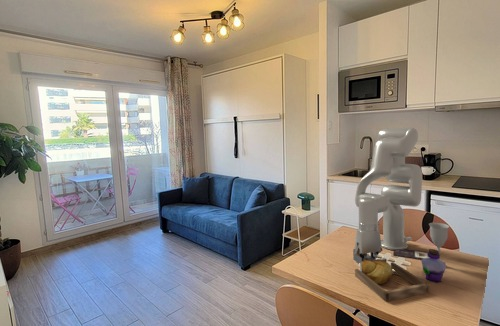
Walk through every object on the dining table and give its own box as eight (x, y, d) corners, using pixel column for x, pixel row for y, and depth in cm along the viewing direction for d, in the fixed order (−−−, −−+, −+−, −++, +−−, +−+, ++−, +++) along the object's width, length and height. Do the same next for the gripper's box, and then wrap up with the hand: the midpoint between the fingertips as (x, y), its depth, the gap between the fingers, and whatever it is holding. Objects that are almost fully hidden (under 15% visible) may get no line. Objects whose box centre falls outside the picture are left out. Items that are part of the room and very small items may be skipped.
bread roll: (379, 269, 119) (379, 251, 118) (400, 279, 110) (400, 260, 109) (358, 278, 113) (358, 259, 112) (379, 289, 104) (379, 269, 103)
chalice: (449, 264, 119) (450, 224, 117) (447, 271, 114) (448, 229, 112) (429, 260, 124) (430, 221, 122) (426, 265, 119) (427, 225, 117)
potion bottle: (416, 278, 110) (417, 250, 108) (425, 271, 115) (425, 243, 114) (441, 287, 103) (442, 257, 102) (449, 279, 108) (450, 250, 107)
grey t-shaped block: (367, 257, 130) (367, 246, 130) (386, 270, 118) (386, 259, 117) (344, 260, 128) (344, 250, 127) (361, 274, 115) (361, 263, 115)
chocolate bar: (393, 247, 138) (437, 253, 129) (393, 249, 138) (437, 255, 129) (393, 254, 130) (439, 261, 121) (393, 256, 130) (439, 263, 121)
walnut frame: (393, 268, 118) (393, 262, 118) (429, 292, 101) (429, 284, 100) (355, 276, 114) (355, 269, 114) (385, 301, 97) (385, 293, 96)
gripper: (379, 221, 123) (379, 260, 125) (346, 225, 120) (347, 265, 122) (390, 226, 116) (391, 267, 118) (356, 231, 113) (357, 274, 115)
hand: (368, 266), depth 120 cm, fingers closed on grey t-shaped block, 3 cm apart
